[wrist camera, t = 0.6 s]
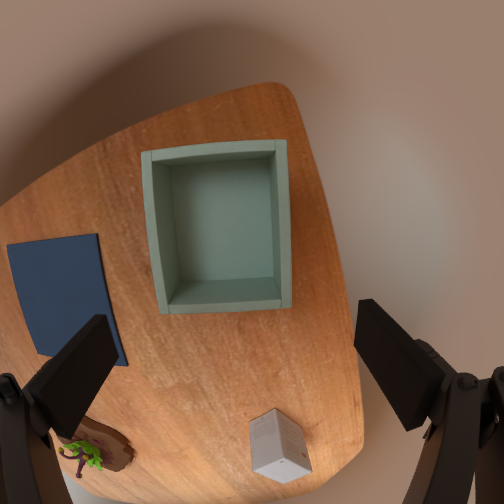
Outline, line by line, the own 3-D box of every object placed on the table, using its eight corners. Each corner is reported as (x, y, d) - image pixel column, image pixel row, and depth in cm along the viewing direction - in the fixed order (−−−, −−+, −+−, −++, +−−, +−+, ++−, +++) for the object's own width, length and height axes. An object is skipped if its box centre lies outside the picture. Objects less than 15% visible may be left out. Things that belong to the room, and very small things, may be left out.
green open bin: (163, 159, 23) (140, 152, 17) (275, 150, 23) (286, 139, 17) (176, 287, 25) (159, 314, 20) (281, 281, 26) (292, 308, 20)
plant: (58, 437, 41) (41, 465, 31) (52, 394, 38) (28, 428, 27) (128, 472, 44) (118, 505, 33) (138, 439, 40) (124, 481, 29)
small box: (248, 421, 39) (250, 470, 29) (275, 406, 38) (283, 457, 28) (276, 439, 40) (282, 485, 30) (302, 426, 40) (313, 472, 30)
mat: (8, 244, 30) (6, 245, 30) (97, 233, 31) (95, 233, 30) (39, 352, 35) (37, 353, 35) (128, 364, 36) (127, 366, 35)
